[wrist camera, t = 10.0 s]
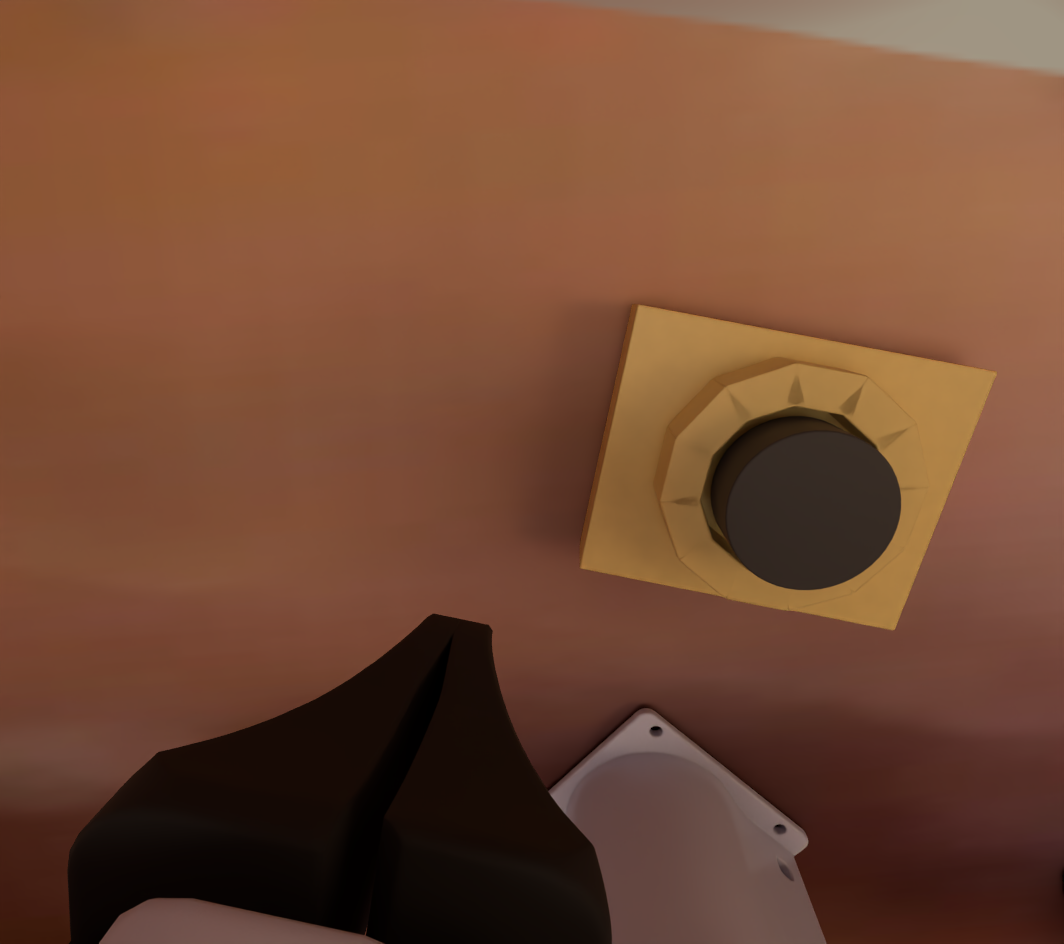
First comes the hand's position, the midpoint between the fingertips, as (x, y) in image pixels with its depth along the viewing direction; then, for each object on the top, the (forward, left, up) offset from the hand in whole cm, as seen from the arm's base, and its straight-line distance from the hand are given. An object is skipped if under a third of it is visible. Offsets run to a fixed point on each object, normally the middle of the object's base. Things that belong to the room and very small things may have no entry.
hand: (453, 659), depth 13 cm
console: (-6, -7, -10) cm, 14 cm away
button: (-6, -7, -7) cm, 11 cm away
